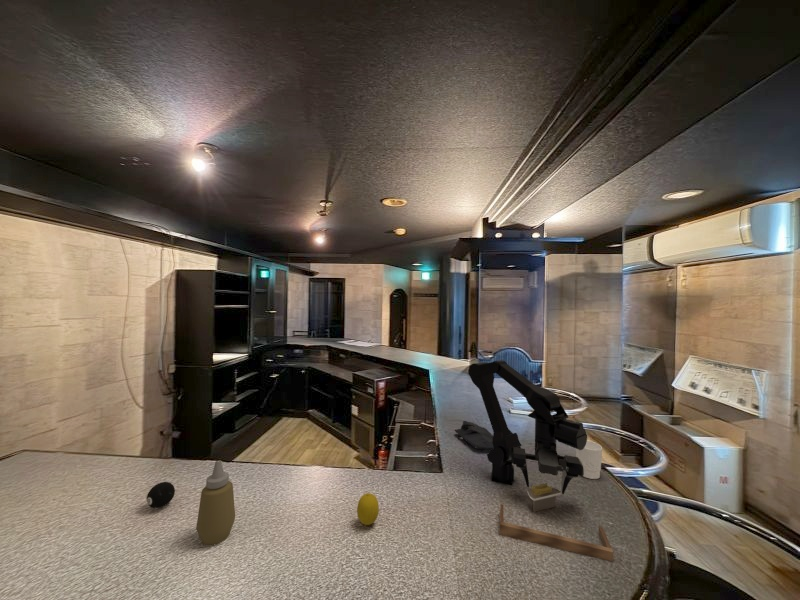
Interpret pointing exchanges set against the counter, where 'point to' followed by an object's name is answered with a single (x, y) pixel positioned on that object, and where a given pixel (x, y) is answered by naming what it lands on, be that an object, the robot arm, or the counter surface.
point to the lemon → (367, 509)
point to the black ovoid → (160, 495)
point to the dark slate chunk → (476, 435)
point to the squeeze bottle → (216, 507)
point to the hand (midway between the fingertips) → (544, 489)
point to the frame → (557, 540)
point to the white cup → (590, 459)
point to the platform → (543, 496)
